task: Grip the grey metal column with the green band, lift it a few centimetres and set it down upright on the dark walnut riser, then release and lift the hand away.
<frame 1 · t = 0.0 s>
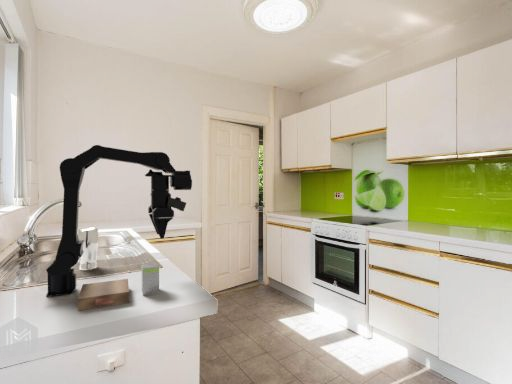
hand: (160, 236, 99), 15 cm above the table, tool pointing down, fingers open, 9 cm apart
walnut riser: (105, 298, 82), on the table
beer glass: (88, 268, 112), on the table
metal column: (150, 291, 87), on the table
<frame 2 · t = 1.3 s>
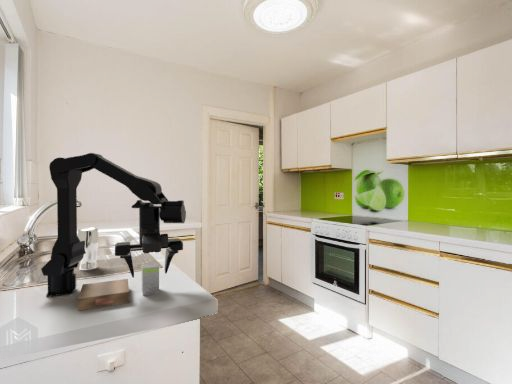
hand: (149, 275, 87), 5 cm above the table, tool pointing down, fingers open, 9 cm apart
nothing on the table moved.
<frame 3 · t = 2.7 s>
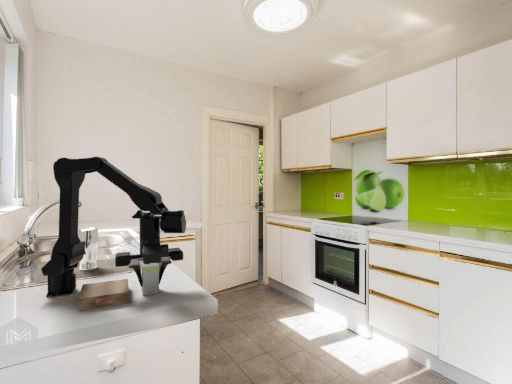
hand: (150, 285, 87), 2 cm above the table, tool pointing down, fingers closed on metal column, 4 cm apart
metal column: (150, 291, 87), on the table, touching gripper
everything else where it was.
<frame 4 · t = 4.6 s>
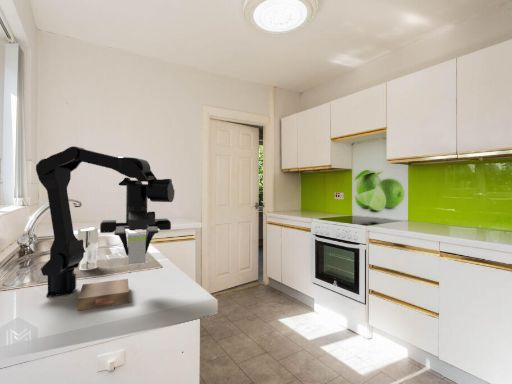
hand: (136, 254, 85), 12 cm above the table, tool pointing down, fingers closed on metal column, 4 cm apart
metal column: (136, 261, 85), point 10 cm above the table, touching gripper
everything else where it was.
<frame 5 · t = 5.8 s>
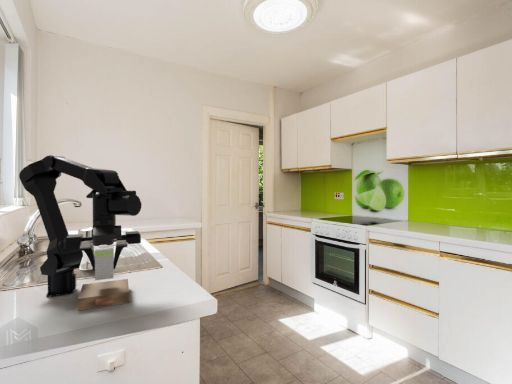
hand: (104, 269, 82), 8 cm above the table, tool pointing down, fingers closed on metal column, 4 cm apart
metal column: (104, 276, 82), point 6 cm above the table, touching gripper
everything else where it was.
when the fingers open (6 cm above the table, at t = 6.8 s): metal column drops 1 cm, resting on walnut riser.
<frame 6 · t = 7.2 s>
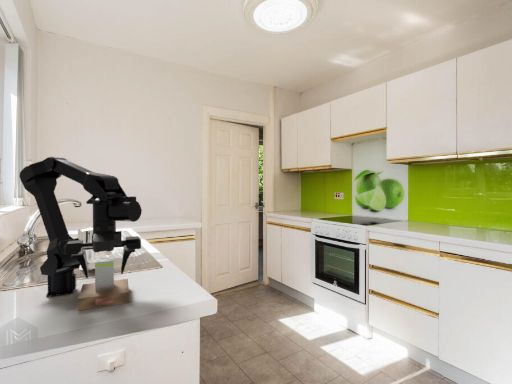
hand: (104, 275, 82), 6 cm above the table, tool pointing down, fingers open, 8 cm apart
metal column: (105, 287, 82), point 3 cm above the table, touching walnut riser
everything else where it was.
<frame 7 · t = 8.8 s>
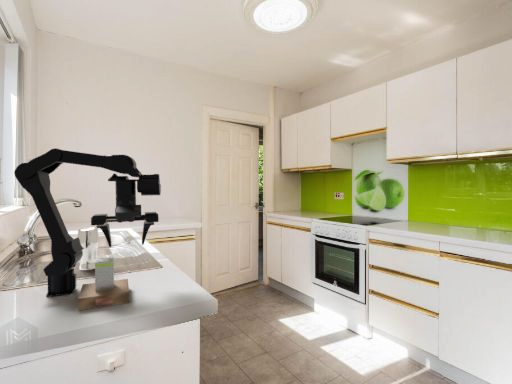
hand: (126, 245, 91), 13 cm above the table, tool pointing down, fingers open, 9 cm apart
nothing on the table moved.
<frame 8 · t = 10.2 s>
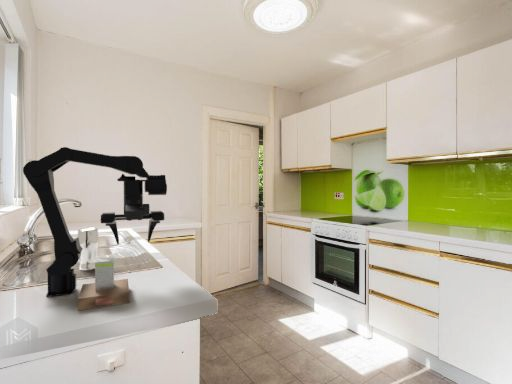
hand: (133, 243, 95), 13 cm above the table, tool pointing down, fingers open, 9 cm apart
nothing on the table moved.
at the end: metal column inside the target area on the walnut riser (0.0 cm from its centre), point 3.0 cm above the walnut riser's base; metal column tilted 0°; the gripper is holding nothing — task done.
